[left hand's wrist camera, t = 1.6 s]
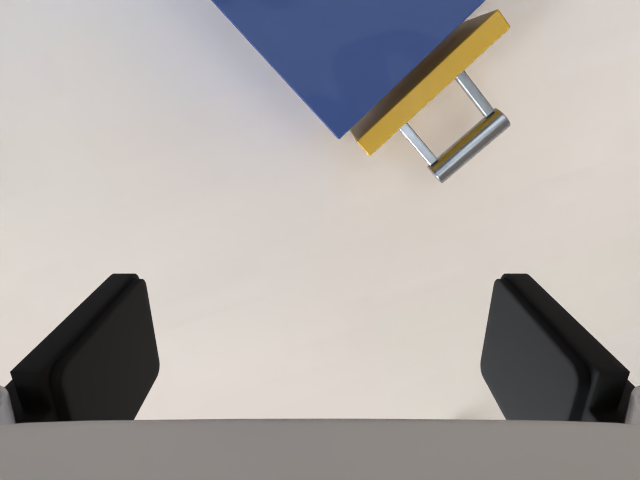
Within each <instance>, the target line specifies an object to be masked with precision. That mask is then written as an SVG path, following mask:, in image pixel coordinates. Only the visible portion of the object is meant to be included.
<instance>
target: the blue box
mask: <svg viewBox="0 0 640 480" xmlns="http://www.w3.org/2000/svg"><path fill="white" fill-rule="evenodd" d="M484 1H485V0H212V2H213V3H214V4H215V5H216V6H217V7H218V8H219V9H220V10H221V11H222V13H223V14H224V15H225V16H226V17H227V18H228V19H229V20H230V21H231V22H232V23H233V25H234V26H235V27H236V28H237V29H238V30H239V31H240V32H241V33H242V34H243V35H244V37H245V38H246V39H247V40H248V41H249V42H250V43H251V44H252V45H253V46H254V47H255V49H256V50H257V51H258V52H259V53H260V54H261V55H262V56H263V57H264V58H265V59H266V61H267V62H268V63H269V64H270V65H271V66H272V67H273V68H274V69H275V70H276V71H277V73H278V74H279V75H280V76H281V77H282V78H283V79H284V80H285V81H286V82H287V84H288V85H289V86H290V87H291V88H292V89H293V90H294V91H295V92H296V93H297V94H298V96H299V97H300V98H301V99H302V100H303V101H304V102H305V103H306V104H307V105H308V106H309V108H310V109H311V110H312V111H313V112H314V113H315V114H316V115H317V116H318V117H319V118H320V120H321V121H322V122H323V123H324V124H325V125H326V126H327V127H328V128H329V129H330V130H331V132H332V133H333V134H334V135H335V136H336V137H337V138H338V139H340V138H341V137H342V136H343V135H344V134H345V133H346V132H347V131H348V130H350V129H351V128H352V127H353V126H354V125H355V124H356V123H357V122H358V121H359V120H360V119H361V118H362V117H363V116H364V115H365V114H366V113H367V112H368V111H370V110H371V109H372V108H373V107H374V106H375V105H376V104H377V103H378V102H379V101H380V100H381V99H382V98H383V97H384V96H385V95H386V94H387V93H388V92H389V91H391V90H392V89H393V88H394V87H395V86H396V85H397V84H398V83H399V82H400V81H401V80H402V79H403V78H404V77H405V76H406V75H407V74H408V73H409V72H411V71H412V70H413V69H414V68H415V67H416V66H417V65H418V64H419V63H420V62H421V61H422V60H423V59H424V58H425V57H426V56H427V55H428V54H429V53H430V52H432V51H433V50H434V49H435V48H436V47H437V46H438V45H439V44H440V43H441V42H442V41H443V40H444V39H445V38H446V37H447V36H448V35H449V34H450V33H452V32H453V31H454V30H455V29H456V28H457V27H458V26H459V25H460V24H461V23H462V22H463V21H464V20H465V19H466V18H467V17H468V16H469V15H470V14H471V13H473V12H474V11H475V10H476V9H477V8H478V7H479V6H480V5H481V4H482V3H483V2H484Z"/></svg>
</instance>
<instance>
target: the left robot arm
mask: <svg viewBox="0 0 640 480" xmlns="http://www.w3.org/2000/svg"><path fill="white" fill-rule="evenodd" d="M159 365H160V364H159V357H158V351H157V345H156V339H155V333H154V328H153V322H152V316H151V310H150V304H149V298H148V293H147V287H146V282H145V281H144V280H143V279H139V277H138V275H136V274H112V275H111V276H110V277H108V278H107V279H106V280H105V281H104V282H103V283H102V284H101V285H100V286H99V287H98V288H97V289H96V290H95V291H94V292H93V293H92V294H91V295H90V296H89V297H88V298H87V299H86V300H85V301H83V302H82V303H81V304H80V305H79V306H78V307H77V308H76V309H75V310H74V311H73V312H72V313H71V314H70V315H69V316H68V317H67V318H66V319H65V320H64V321H63V322H62V323H61V324H59V325H58V326H57V327H56V328H55V329H54V330H53V331H52V332H51V333H50V334H49V335H48V336H47V337H46V338H45V339H44V340H43V341H42V342H41V343H40V344H39V345H38V346H37V347H36V348H34V349H33V350H32V351H31V352H30V353H29V354H28V355H27V356H26V357H25V358H24V359H23V360H22V361H21V362H20V363H19V364H18V365H17V366H16V367H15V368H14V369H13V370H12V371H10V373H11V376H12V379H13V380H11V381H10V382H9V383H8V384H7V385H6V386H5V387H2V386H0V480H640V386H638V387H635V386H634V385H633V384H632V383H631V382H630V381H629V380H627V379H628V376H629V373H630V371H628V370H627V369H626V368H625V367H624V366H623V365H622V364H621V363H620V362H619V361H618V360H617V359H616V358H615V357H614V356H613V355H612V354H611V353H610V352H609V351H608V350H607V349H606V348H604V347H603V346H602V345H601V344H600V343H599V342H598V341H597V340H596V339H595V338H594V337H593V336H592V335H591V334H590V333H589V332H588V331H587V330H586V329H585V328H584V327H583V326H582V325H581V324H579V323H578V322H577V321H576V320H575V319H574V318H573V317H572V316H571V315H570V314H569V313H568V312H567V311H566V310H565V309H564V308H563V307H562V306H561V305H560V304H559V303H558V302H557V301H555V300H554V299H553V298H552V297H551V296H550V295H549V294H548V293H547V292H546V291H545V290H544V289H543V288H542V287H541V286H540V285H539V284H538V283H537V282H536V281H535V280H534V279H533V278H532V277H530V276H529V275H528V274H504V275H502V277H501V279H497V280H496V281H495V282H494V287H493V293H492V298H491V304H490V310H489V316H488V322H487V328H486V333H485V339H484V345H483V351H482V357H481V364H480V365H481V373H482V376H483V378H484V380H485V381H486V383H487V385H488V387H489V389H490V391H491V393H492V394H493V396H494V398H495V400H496V402H497V404H498V406H499V407H500V409H501V411H502V413H503V415H504V417H505V419H506V420H440V419H194V420H134V419H135V417H136V415H137V413H138V411H139V409H140V407H141V406H142V404H143V402H144V400H145V398H146V396H147V394H148V393H149V391H150V389H151V387H152V385H153V383H154V381H155V380H156V378H157V376H158V373H159Z"/></svg>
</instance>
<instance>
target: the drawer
mask: <svg viewBox="0 0 640 480" xmlns="http://www.w3.org/2000/svg"><path fill="white" fill-rule="evenodd" d="M509 28H510V26H509V24H508V23H507V21H506V20H505V18H504V17H503V16H502V14H501V13H500V11H499V10H495V11H492V12H489V13H487V14H484V15H481V16H478V17H476V18H473V19H470V20H467V21H465V22H462V23H461V24H460V25H459V26H458V27H457V28H456V29H455V30H454V31H453V32H452V33H450V34H449V35H448V36H447V37H446V38H445V39H444V40H443V41H442V42H441V43H440V44H439V45H438V46H437V47H436V48H435V49H434V50H433V51H432V52H430V53H429V54H428V55H427V56H426V57H425V58H424V59H423V60H422V61H421V62H420V63H419V64H418V65H417V66H416V67H415V68H414V69H413V70H412V71H411V72H409V73H408V74H407V75H406V76H405V77H404V78H403V79H402V80H401V81H400V82H399V83H398V84H397V85H396V86H395V87H394V88H393V89H392V90H391V91H389V92H388V93H387V94H386V95H385V96H384V97H383V98H382V99H381V100H380V101H379V102H378V103H377V104H376V105H375V106H374V107H373V108H372V109H371V110H370V111H368V112H367V113H366V114H365V115H364V116H363V117H362V118H361V119H360V120H359V121H358V122H357V123H356V124H355V125H354V126H353V127H352V128H351V129H350V131H351V133H352V134H353V136H354V138H355V140H356V142H357V143H358V144H359V145H360V146H361V147H362V149H363V150H364V151H365V152H366V153H367V154H368V155H369V156H370V155H372V154H373V153H374V152H375V151H376V150H377V149H378V148H379V147H380V146H381V145H382V144H384V143H385V142H386V141H387V140H388V139H389V138H390V137H391V136H392V135H393V134H395V133H396V132H397V131H398V130H400V131H401V132H402V133H403V135H404V136H405V137H406V138H407V139H408V140H409V142H410V143H411V144H412V145H413V146H414V147H415V149H416V150H417V151H418V152H419V153H420V154H421V156H422V157H423V158H424V159H425V160H426V161H427V163H428V164H429V166H428V169H429V170H430V171H431V173H432V174H433V175H434V176H435V177H436V178H437V179H438V180H439V181H440V182H441V183H443V182H444V181H445V180H447V179H448V178H449V177H450V176H451V175H453V174H454V173H455V172H456V171H457V170H459V169H460V168H461V167H462V166H463V165H464V164H466V163H467V162H468V161H469V160H470V159H472V158H473V157H474V156H475V155H476V154H477V153H479V152H480V151H481V150H482V149H483V148H485V147H486V146H487V145H488V144H489V143H490V142H492V141H493V140H494V139H495V138H496V137H498V136H499V135H500V134H501V133H502V132H503V131H505V130H506V129H507V128H508V127H509V126H510V122H509V120H508V119H507V117H506V116H505V115H504V114H503V113H502V112H501V111H500V110H498V109H496V108H495V109H493V108H492V107H491V105H490V104H489V103H488V101H487V100H486V99H485V97H484V96H483V95H482V93H481V92H480V91H479V89H478V88H477V87H476V86H475V84H474V83H473V82H472V80H471V79H470V78H469V76H468V75H467V74H466V72H465V71H464V69H466V68H467V67H468V66H469V65H470V64H471V63H472V62H473V61H474V60H475V59H476V58H478V57H479V56H480V55H481V54H482V53H483V52H484V51H485V50H486V49H487V48H489V47H490V46H491V45H492V44H493V43H494V42H495V41H496V40H497V39H498V38H499V37H501V36H502V35H503V34H504V33H505V32H506V31H507V30H508V29H509ZM454 79H455V80H456V81H457V82H458V84H459V85H460V86H461V87H462V89H463V90H464V91H465V93H466V94H467V95H468V96H469V98H470V99H471V100H472V102H473V103H474V104H475V106H476V107H477V108H478V109H479V111H480V112H481V113H482V115H483V116H485V117H484V118H483V119H482V120H481V121H479V122H478V123H477V124H476V125H475V126H474V127H473V128H471V129H470V130H469V131H468V132H467V133H466V134H464V135H463V136H462V137H461V138H460V139H459V140H458V141H456V142H455V143H454V144H453V145H452V146H451V147H449V148H448V149H447V150H446V151H445V152H444V153H443V154H441V155H440V156H439V157H438V158H436V157H435V155H434V154H433V153H432V152H431V151H430V150H429V148H428V147H427V146H426V145H425V144H424V142H423V141H422V140H421V139H420V138H419V136H418V135H417V134H416V133H415V132H414V131H413V129H412V128H411V127H410V126H409V125H408V123H407V122H408V121H409V120H410V119H411V118H412V117H413V116H414V115H415V114H416V113H417V112H419V111H420V110H421V109H422V108H423V107H424V106H425V105H426V104H427V103H428V102H429V101H431V100H432V99H433V98H434V97H435V96H436V95H437V94H438V93H439V92H440V91H442V90H443V89H444V88H445V87H446V86H447V85H448V84H449V83H450V82H451V81H452V80H454Z"/></svg>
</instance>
